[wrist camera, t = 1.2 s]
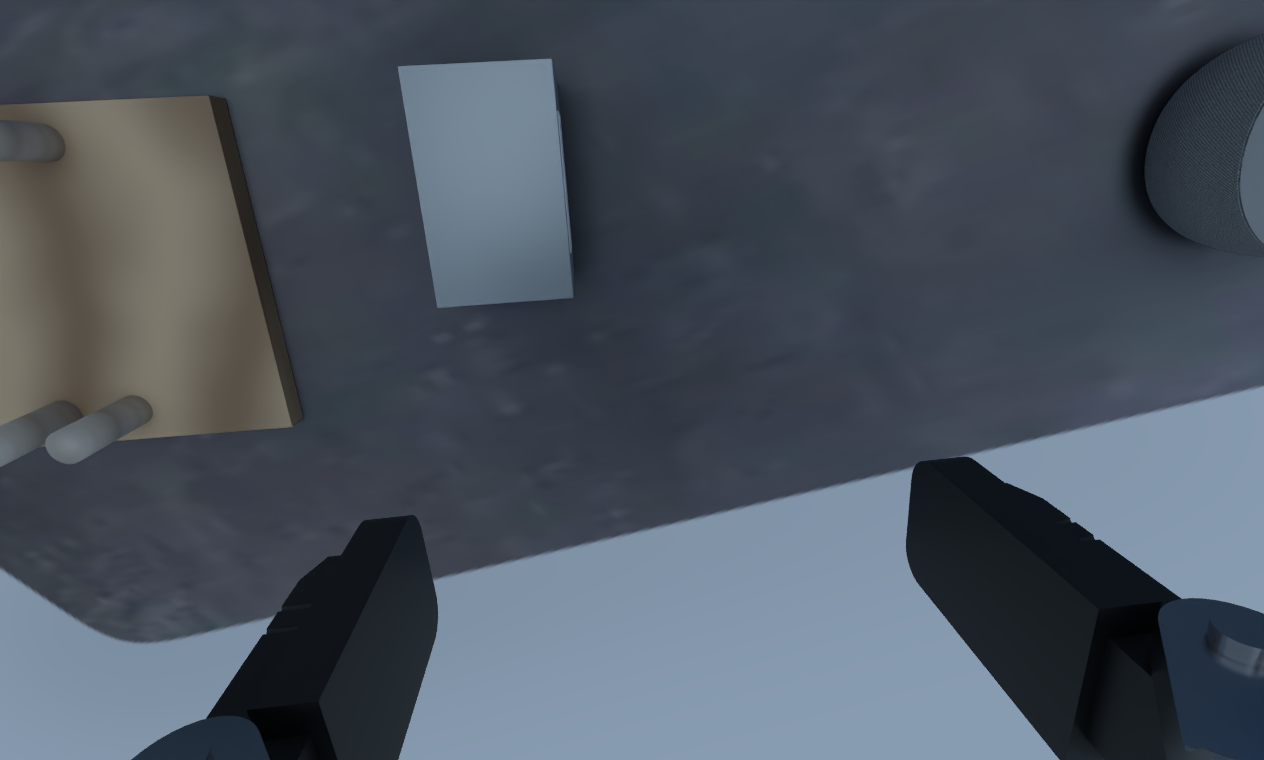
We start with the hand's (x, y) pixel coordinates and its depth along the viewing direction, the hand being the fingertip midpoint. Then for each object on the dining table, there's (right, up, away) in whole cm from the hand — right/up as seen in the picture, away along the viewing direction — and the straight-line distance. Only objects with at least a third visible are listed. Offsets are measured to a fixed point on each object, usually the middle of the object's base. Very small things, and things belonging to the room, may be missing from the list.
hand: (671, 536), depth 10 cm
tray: (-25, +7, +17) cm, 31 cm away
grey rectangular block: (-6, +11, +17) cm, 21 cm away
